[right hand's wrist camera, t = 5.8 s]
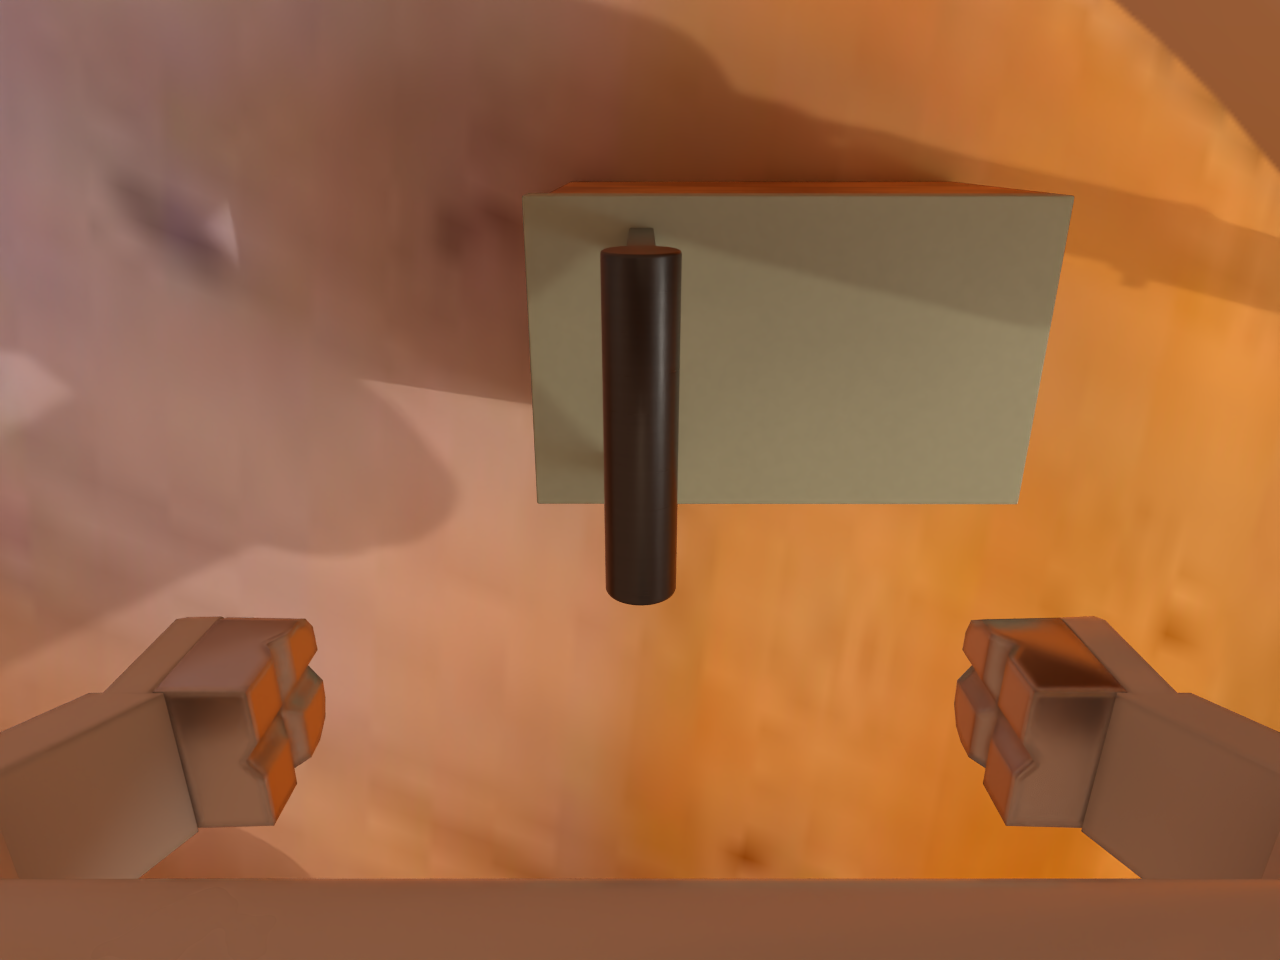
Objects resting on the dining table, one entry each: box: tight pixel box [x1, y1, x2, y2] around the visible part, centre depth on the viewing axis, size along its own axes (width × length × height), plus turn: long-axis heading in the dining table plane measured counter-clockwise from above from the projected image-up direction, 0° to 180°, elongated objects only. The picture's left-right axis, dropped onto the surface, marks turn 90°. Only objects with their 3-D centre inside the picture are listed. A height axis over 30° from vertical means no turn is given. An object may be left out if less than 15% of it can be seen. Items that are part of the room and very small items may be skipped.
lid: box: [522, 193, 1074, 605], centre depth 22 cm, size 16×9×9 cm, turn 90°
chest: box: [550, 182, 1045, 193], centre depth 30 cm, size 15×9×9 cm, turn 90°
